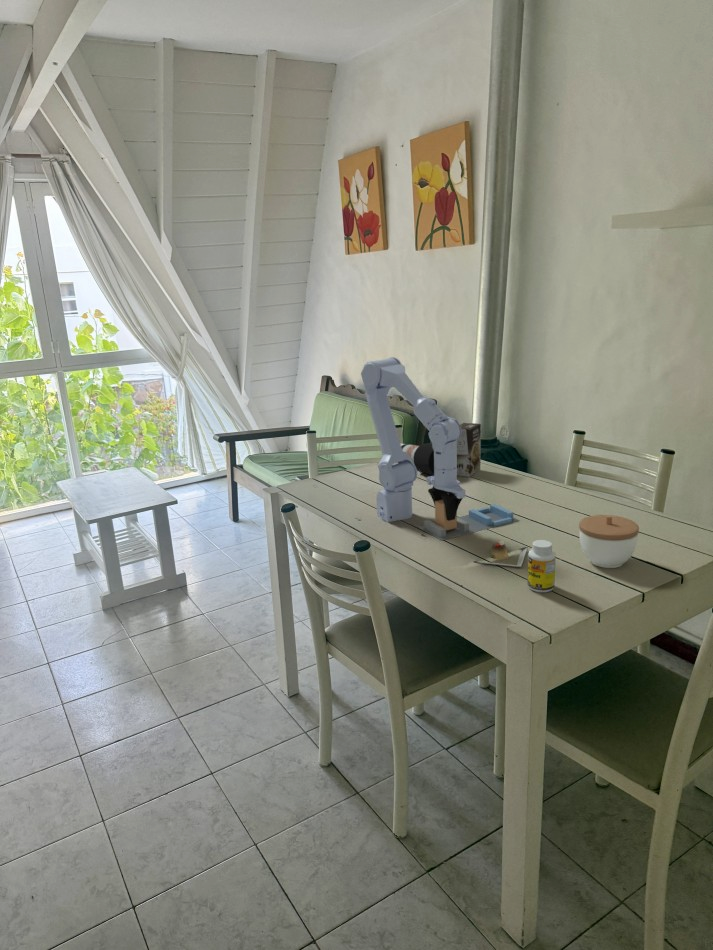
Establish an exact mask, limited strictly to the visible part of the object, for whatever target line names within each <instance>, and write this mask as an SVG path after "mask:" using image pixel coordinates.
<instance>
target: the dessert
mask: <svg viewBox="0 0 713 950" xmlns="http://www.w3.org/2000/svg"><path fill="white" fill-rule="evenodd" d="M528 547H529V546H526V547H522V548H518V550H520V551H521V552H520V555H519V558H518V559H517V563H516V565H515V564H508V563H507V564H506V563H498V562H489V561H488V562H487V561H481V560H480V561H478V560H476V561H473V563H476V564H477V563H478V564H486V565H493V566H504V567H514V568H521V567H522V565H523V562H524V559H525V556H526V554H527V550H528ZM490 554H491V555H492V556H490V559H493V560H506V559H508V558H509V556H510V555H509V553H508V548H507V546H506V544H505V541H504V540H503V539H501V538H500V539H499V540H498V542H494V543H492V547H491V549H490Z"/></svg>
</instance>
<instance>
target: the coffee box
mask: <svg viewBox="0 0 713 950" xmlns="http://www.w3.org/2000/svg"><path fill="white" fill-rule="evenodd" d="M460 426H461V431H462V432H461V436H460V438H459V439H458V440H457V476H458V477H460V476H461V477H467V478H471V476H474V475H475V474H476V473H478V472H480V471H481V453H482V452H481V449H482V447H481V443H482V442H481V441H482V440H481V439H482V438H481V433H482V432H481V431H482V429H481V427H482V425H481V423H476V422H475V423H473V422H472V423H471V422H463V423H460Z"/></svg>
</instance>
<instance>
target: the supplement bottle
mask: <svg viewBox="0 0 713 950" xmlns="http://www.w3.org/2000/svg"><path fill="white" fill-rule="evenodd" d="M556 557H557V555H556V553H555V551H554V550H553V543H552V542H551V541H548V540H545V539H544V540H543V539H538V540H534V541H533V542H532V547H531V549H530V550H529V551H528V555H527V559H528V560H527V587H528V589H529V590H531V591H534V592H536V593H549V592H551V591H552V590H553V591H554V589H555V582H556V580H555V579H556V578H555V577H556V561H557V560H556Z"/></svg>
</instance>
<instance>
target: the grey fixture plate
mask: <svg viewBox="0 0 713 950" xmlns="http://www.w3.org/2000/svg"><path fill="white" fill-rule="evenodd" d="M518 521H520V519H518V518H517V517H516V518H515V517H514V511H511V510H509V509H507V508H505V507H502V506H501V505H498V504H497V503H494V504H490V505H489V507H488V506H486V507H482V508H479V509H474V508H472V509H469V510H468V514H466V515H462V516H457V528H454V529H450V530H446V529H445V528H443V527H441V526H439V525H437V524H435V521H432V520H430V519H426V520H423V525H421V526H417V528H419V529H420V530H422V531H423V532H426V534H429V535H430V536H433V537H434V538H436V539H437V540H439V541H445V540H446V541H447V540H450V539H454V538H458V537H461V536H464V535H468V534H469V535H470V534H472V533H475V532H481V531H483V530H487V529H491V528H496V527H499V526H504V525H507V524H511V523H515V522H518Z"/></svg>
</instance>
